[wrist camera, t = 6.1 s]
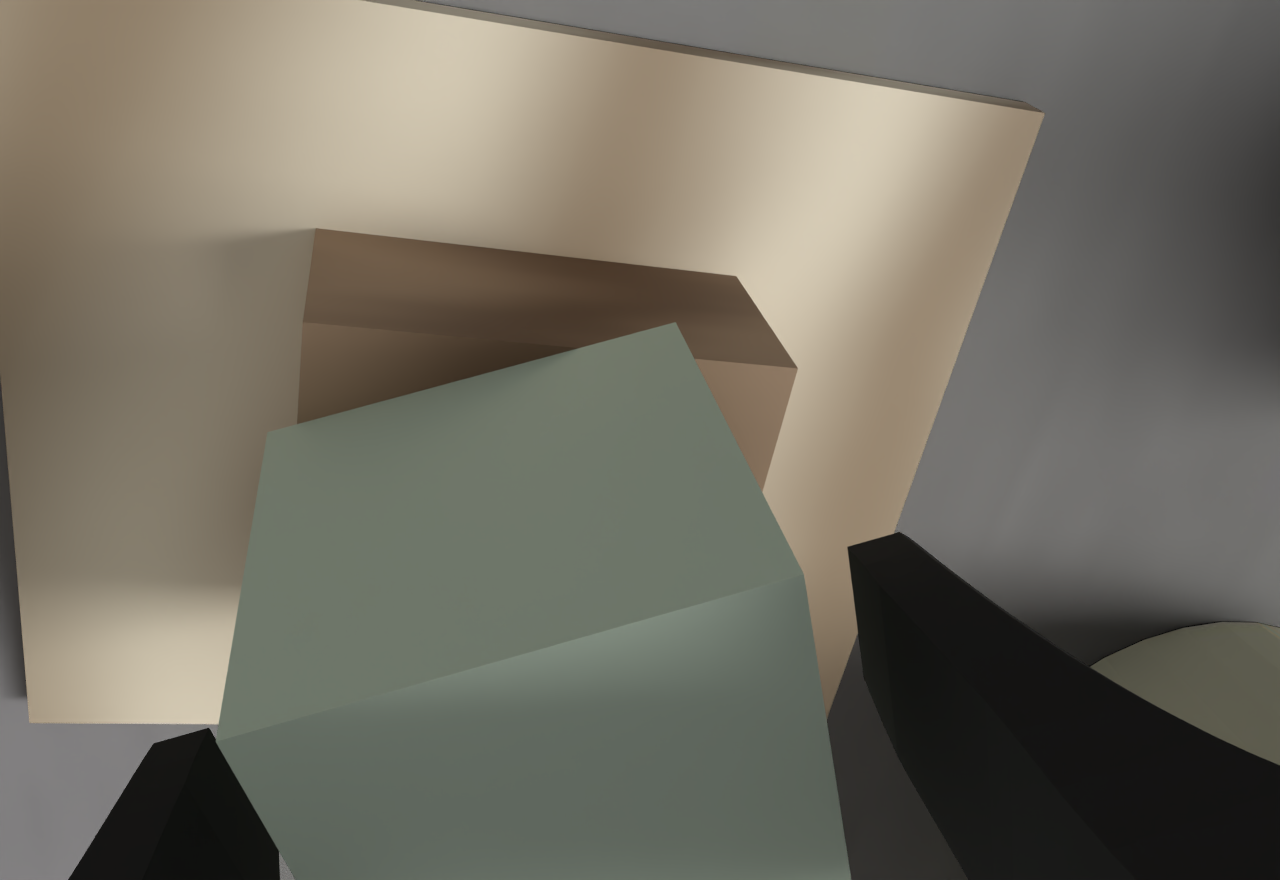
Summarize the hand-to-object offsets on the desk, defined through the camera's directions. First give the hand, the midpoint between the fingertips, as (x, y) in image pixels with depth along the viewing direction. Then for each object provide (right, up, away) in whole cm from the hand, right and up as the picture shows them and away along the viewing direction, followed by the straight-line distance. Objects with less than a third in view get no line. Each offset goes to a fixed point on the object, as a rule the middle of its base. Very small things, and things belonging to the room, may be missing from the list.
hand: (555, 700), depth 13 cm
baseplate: (-1, +3, +5) cm, 6 cm away
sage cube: (0, +2, +2) cm, 3 cm away
